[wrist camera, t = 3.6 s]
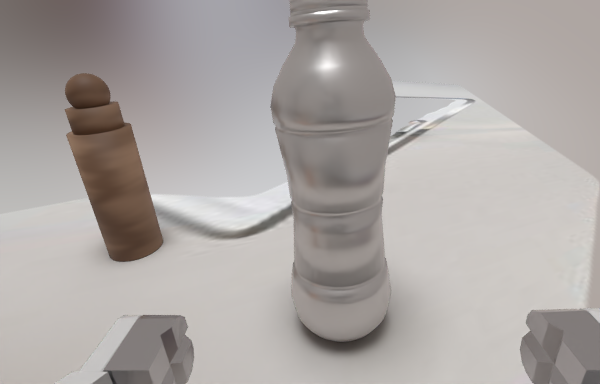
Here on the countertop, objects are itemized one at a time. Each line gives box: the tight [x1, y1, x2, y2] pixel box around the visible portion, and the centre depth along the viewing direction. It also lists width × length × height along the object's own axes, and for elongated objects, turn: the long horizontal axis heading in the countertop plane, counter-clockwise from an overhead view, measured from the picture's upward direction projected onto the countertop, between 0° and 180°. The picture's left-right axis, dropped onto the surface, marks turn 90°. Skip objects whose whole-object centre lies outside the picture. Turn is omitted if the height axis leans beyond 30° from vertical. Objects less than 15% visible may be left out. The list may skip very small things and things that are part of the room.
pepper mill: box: [65, 73, 163, 262], centre depth 31 cm, size 5×5×17 cm
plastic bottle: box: [271, 0, 396, 342], centre depth 20 cm, size 6×7×20 cm
